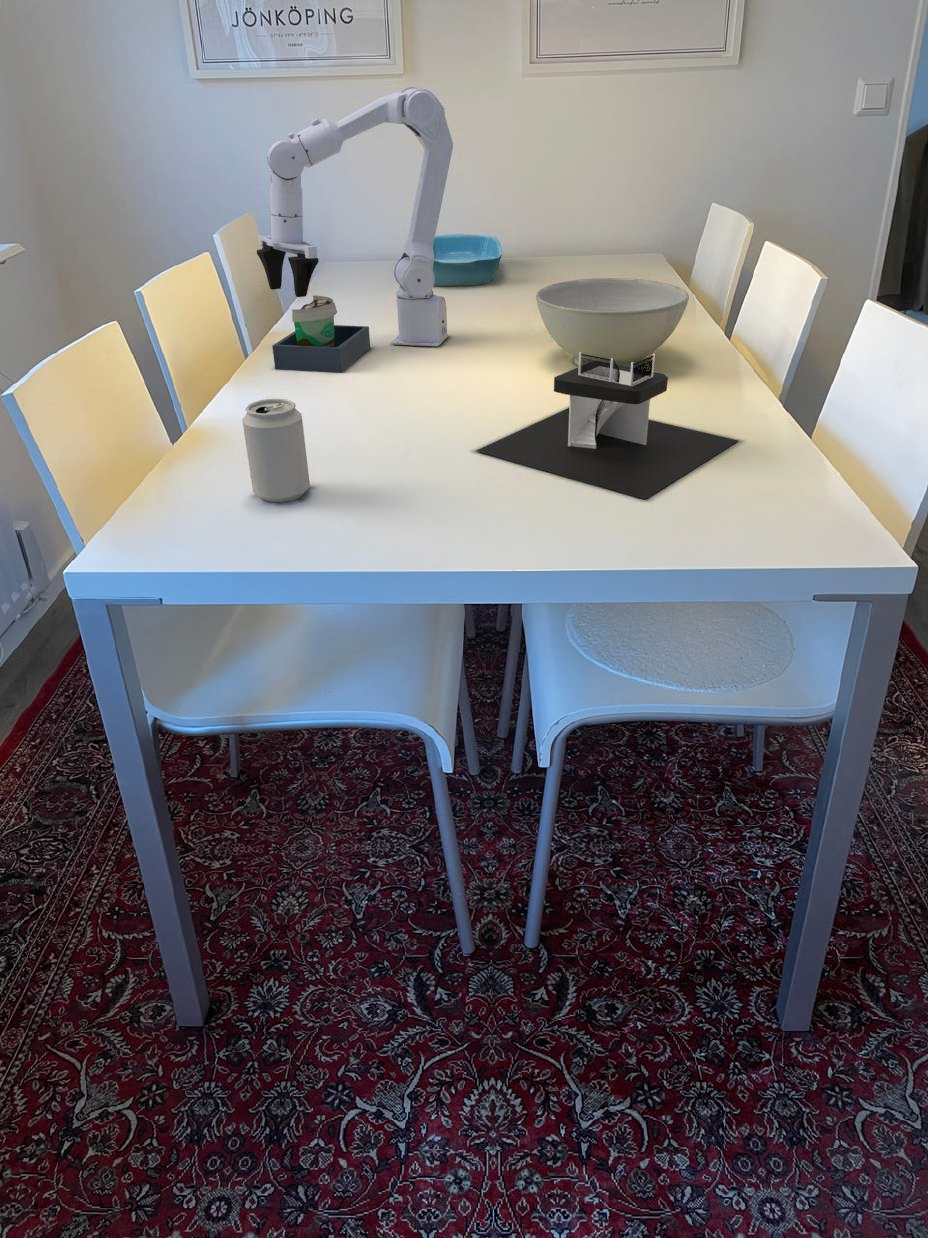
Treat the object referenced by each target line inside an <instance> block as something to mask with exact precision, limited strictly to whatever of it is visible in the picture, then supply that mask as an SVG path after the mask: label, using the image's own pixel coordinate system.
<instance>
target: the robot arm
mask: <svg viewBox="0 0 928 1238" xmlns="http://www.w3.org/2000/svg"><path fill="white" fill-rule="evenodd" d="M310 123H311V125H310V126H308V127H306V128H304V129H302V130H300V131H298V132H296V133H294V132H292V131H291V132H290V133H287V138H288V140H283V139H282V140H278V141H276V142H274V143H273V144H272V145H270V148H269V150H268V154H267V156H266V159H267V164H268V166H269V168H270V169H271V170H270V175H269V181H270V185H269V205H270V208H269V210H270V234H258V246H259V247H261V248H259V249H257V250H256V255H257V256H258V258H259V260H260V262H261V264H262V266H263V269H264V271H265V276H266V278H267V282H268V287H269V289H270V290H272V291H273V290H280V289H281V288H282V283H283V267H284V261H285V257H286V254H287V253H288V254H293V255H296V256H288V257H287V260H288V263H289V265H290V268H291V273H292V277H293V289H294V290H293V291H294V295H295V297H296V298H304V297H307V295H308V290H309V286H310V282H311V279H312V277H313V273H314V271H315V269H316V267H317V266H318V264H319V260H320V259H319V257H318V247H317V246H315V245H312V244H310V243H308V242H306V241H304V233H303V232H304V228H303V226H304V225H303V224H304V223H303V221H304V219H303V188H302V173H303V172H304V170H305V169H304V168H305V167H306V168H309V169H310V168H311V167H313V166H316V165H317V164H320V163H321V162H323V161H325V160H327V159H329V158H331V157H333V156H335V155H337V154H339V153H340V152H341V151H342V146H343V144H344V142H345V141H347V140H349V139H351V138H354V137H356V136H357V135H360V134H362V133H364V132H366V131H369V130H371V129H373V128H375V127H377V126H379V125H381V124H385V123H387V124H396V125H404V126H405V127H406V128H408V129H409V130H410V131H411V132H412V133H413V134H414V136H415V137H416V139H417V141H418V142H419V144H420V145H421V147H422V148H423V156H422V160H421V166H420V171H419V175H418V182H417V188H416V191H415V197H414V203H413V210H412V214H411V217H410V224H409V229H408V235H407V239H406V241H405V243H404V245H403V247H402V252H401V255H400V257H399V258H398V259H397V260H396V263H395V264H394V267H393V275H394V279H395V282H396V283H397V284H398V285H399V288H398V289H397V291H396V294H395V295H396V309H397V310H396V311H397V326H398V327H397V328H398V329H397V330H398V336H397V337H396V338H395V339H394V340H393V341H392V345H395V346H396V345H397V346H398V345H399V346H415V347H416V346H418V347H439V346H440V345H441V344H442V343H443V342H444V341H446V339H448V337H449V333H448V317H447V316H448V314H447V301H446V298H445V297H444V296H442V295H436V294H434V290H433V289H434V287H435V286H434V282H435V277H434V273H433V263H434V253H433V244H434V239H435V236H436V233H437V229H438V224H439V218H440V213H441V208H442V203H443V199H444V193H445V189H446V184H447V178H448V174H449V169H450V165H451V164H450V163H451V159H452V154H453V150H454V148H453V147H454V142H453V139H452V135H451V131H450V128H449V125H448V122H447V119H446V112H445V107H444V106H443V104H442V103H441V101H440V100H439V98H437V96H436V95H435V93H434V92H433V91H430V90H429V89H428V88H424V87H423V88H422V87H421V88H418V87H414V86H409V87H405V88H404V89H402V90H401V91H396V92H392V93H389V94H387V95H384V96H382V97H379V98H377V99H376V100H374V101H372V102H370V103H369V104H367V105H365V106H363V107H362V108H359V109H358V110H356V111H354V112H353V113H350V114H349V115H347V116H345V117H343V118H342V119H340V120H337V121H336V122H333V121H332V120H329V119H327V118H324V119H321V120H320V119H319V118H315V119H313V120H311V122H310Z"/></svg>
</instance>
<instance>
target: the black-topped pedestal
mask: <svg viewBox="0 0 928 1238" xmlns="http://www.w3.org/2000/svg"><path fill="white" fill-rule="evenodd" d="M582 355H583V356H584V358H583V359H582V358H581V356H582ZM586 356H589V357H590V359H589V360H588V359H587V364H586V362H585V359H586ZM592 357H595V358H596V361H595V360H592ZM598 358H600V359H601V361H598ZM603 359H605V360H606V361H607V362H603ZM655 359H656V353H652V355H650V356H648V357H645V358H643V359H642V360H641V361H639V362H637V363H635V364H636V367H635V368H634V366H635V364H634V362H631V367H627V366H622V365H617V364H616V363H615V361H614V360H613V358H611V359H606V358H601V357H596V356H591V355H585V354H582V352H579V365H578V366H577V367H575V368H573V369H571V370H568V371H566V372H564V373H561V374H559V375H556V376H554V377H553V392H554V393H557V394H563V395H567V396H569V406H568V408H565V409H563V410H560V411H558V412H556V413H554V414H553V415H549V416H548V417H546V418H544V419H541V420H539V421H537V422H534V423H533V424H530V425H528V426H526V427H524V428H522V429H520V430H518V431H515V432H513V433H511V434H509V435H506V436H505V437H502V438H500V439H497V440H496V441H493V442H492V443H491V442H490V443H489V444H488V445H485V446H483V447H481V448H479V449H476V450H475V452H479V453H483V454H486V455H489V456H493V457H496V458H500V459H504V460H506V461H510V462H513V463H518V464H520V465H525V466H527V467H528V466H529V467H531V468H534V469H538V470H541V471H545V472H549V473H553V474H556V475H559V476H563V477H566V478H569V479H573V480H576V481H581V482H582V483H583V482H584V483H586V484H591V485H594V486H597V487H600V488H605V489H609V490H611V491H615V492H618V493H622V494H626V495H629V496H633V497H636V498H640V499H643V500H646V499H648V498H650V497H651V496H653V495H654V494H656V493H657V492H659V491H661V490H662V489H664V488H665V487H667V486H669V485H670V484H672V483H674V482H675V481H677V480H678V479H680V478H681V477H683V476H684V475H686V474H688V473H690V472H691V471H692V470H694V469H696V468H697V467H699V466H701V465H702V464H704V463H706V462H707V461H709V460H710V459H711V458H714V456H716V455H718V454H720V453H721V452H723V451H724V450H726V449H727V448H729V447H731V446H732V445H734V444H735V443H737V442H739V439H735V438H731V437H725V436H721V435H717V434H713V433H710V432H709V433H708V432H705V431H700V430H697V429H691V428H687V427H684V426H683V427H682V426H678V425H673V424H670V423H666V422H661V421H655V420H652V419H650V405H651V400H652V399H653V398H655V397H657V396H659V395H661V394H663V393H666V392H667V390H668V380H669V377H668V376H667V375H666V374H664V373H661V372H657V371H655ZM591 360H592V362H591ZM608 360H610V361H611V363H609V362H608ZM583 362H584V363H583ZM613 362H614V363H615V364H613ZM581 363H582V366H581ZM638 363H639V366H638Z"/></svg>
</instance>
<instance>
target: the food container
mask: <svg viewBox="0 0 928 1238" xmlns="http://www.w3.org/2000/svg"><path fill="white" fill-rule="evenodd" d="M337 314H338V310H337V306H336V303H335V301H334V299H333V298H331V297H328V296H323V295H312V301H311V302H310V303H306V304H303V305H302V307H301V308H297V309H295V308H294V309H292V313H291V318H292V319H291V322H293V325H294V331H295V332H296V339H297V345H298V346H317V347H335V345H334V325H335V315H337Z"/></svg>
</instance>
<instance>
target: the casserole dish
mask: <svg viewBox="0 0 928 1238" xmlns="http://www.w3.org/2000/svg"><path fill="white" fill-rule="evenodd" d="M433 253H434V263H433V273H434V277H435V282H434V286H433V287H456V286H461V287H463V286H464V287H465V286H481V285H486V284H489V283H490V282H491V281H492V280H493V279H494V278H495V277H496V275H497V272H498V269H499V267H500V262H501V259H502V256H503V248H502V245H501V242H500V239H499V238H498V237H496V236H491V235H480V234H472V233H471V234H469V233H468V234H467V233H452V234H450V233H449V234H440V235H435V239H434V244H433Z"/></svg>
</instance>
